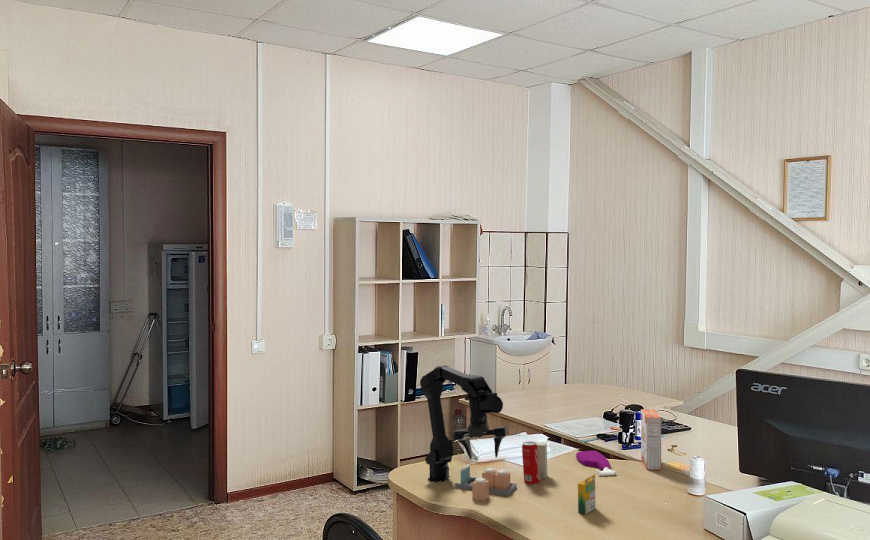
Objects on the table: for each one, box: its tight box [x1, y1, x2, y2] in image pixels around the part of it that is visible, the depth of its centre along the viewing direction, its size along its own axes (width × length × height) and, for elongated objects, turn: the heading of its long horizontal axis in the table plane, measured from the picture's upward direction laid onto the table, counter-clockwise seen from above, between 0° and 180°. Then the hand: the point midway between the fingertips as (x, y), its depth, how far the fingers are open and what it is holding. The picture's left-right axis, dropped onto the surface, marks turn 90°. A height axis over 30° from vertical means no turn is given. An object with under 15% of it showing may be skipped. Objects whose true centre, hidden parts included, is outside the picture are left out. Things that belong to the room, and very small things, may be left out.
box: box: [535, 441, 548, 479], centre depth 264 cm, size 5×4×13 cm
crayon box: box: [577, 473, 597, 516], centre depth 230 cm, size 7×3×12 cm, turn 141°
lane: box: [454, 476, 517, 496], centre depth 251 cm, size 20×9×2 cm, turn 64°
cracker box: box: [640, 408, 662, 471], centre depth 277 cm, size 14×6×21 cm, turn 172°
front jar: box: [494, 469, 511, 490], centre depth 248 cm, size 4×4×7 cm
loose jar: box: [471, 477, 490, 501], centre depth 241 cm, size 4×4×7 cm
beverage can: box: [521, 441, 541, 486], centre depth 257 cm, size 6×6×15 cm
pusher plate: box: [460, 463, 471, 484], centre depth 255 cm, size 1×6×6 cm, turn 154°
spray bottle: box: [575, 450, 617, 477], centre depth 276 cm, size 3×11×24 cm
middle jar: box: [481, 467, 498, 488], centre depth 250 cm, size 4×4×7 cm
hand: (483, 458), depth 242 cm, fingers open, 9 cm apart
